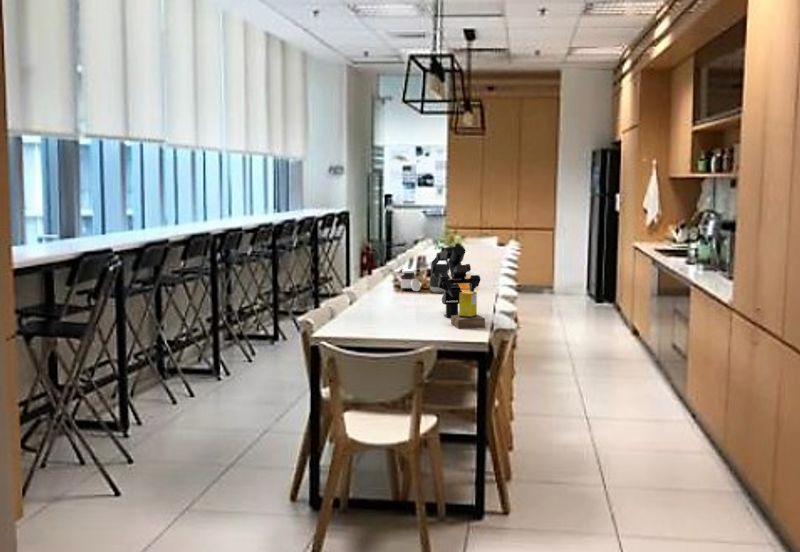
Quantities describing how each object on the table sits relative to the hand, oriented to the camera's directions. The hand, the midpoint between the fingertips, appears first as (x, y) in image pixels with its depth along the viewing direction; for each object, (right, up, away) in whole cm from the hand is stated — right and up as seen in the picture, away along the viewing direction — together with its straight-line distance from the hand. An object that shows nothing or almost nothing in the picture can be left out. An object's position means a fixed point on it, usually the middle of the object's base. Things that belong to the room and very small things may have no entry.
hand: (462, 296), depth 412 cm
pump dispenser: (-7, 0, +103) cm, 103 cm away
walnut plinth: (+2, -13, -6) cm, 14 cm away
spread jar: (-22, +1, +112) cm, 114 cm away
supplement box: (+2, -9, -7) cm, 11 cm away
